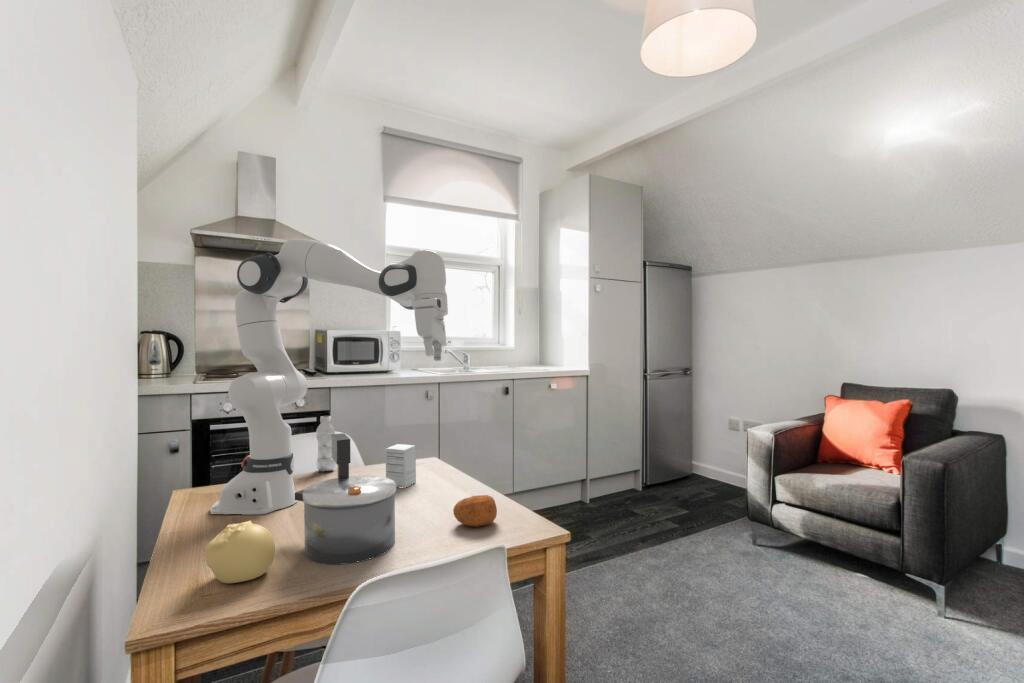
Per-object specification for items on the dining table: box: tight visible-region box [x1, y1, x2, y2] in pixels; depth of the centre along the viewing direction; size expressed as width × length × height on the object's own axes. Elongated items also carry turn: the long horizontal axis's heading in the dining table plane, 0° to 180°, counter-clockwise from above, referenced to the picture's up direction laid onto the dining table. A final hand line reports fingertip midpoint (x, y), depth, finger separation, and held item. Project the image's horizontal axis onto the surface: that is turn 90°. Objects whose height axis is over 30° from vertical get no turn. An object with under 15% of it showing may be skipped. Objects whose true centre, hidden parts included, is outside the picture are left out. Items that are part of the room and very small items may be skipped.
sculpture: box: [204, 520, 276, 584], centre depth 101 cm, size 12×12×11 cm
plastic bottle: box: [315, 415, 337, 472], centre depth 182 cm, size 6×7×20 cm
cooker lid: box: [302, 432, 397, 508], centre depth 119 cm, size 28×21×11 cm
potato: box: [453, 494, 498, 528], centre depth 128 cm, size 9×11×8 cm
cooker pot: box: [295, 488, 396, 565], centre depth 117 cm, size 27×20×12 cm
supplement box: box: [385, 443, 417, 489], centre depth 164 cm, size 7×7×13 cm
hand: (433, 358), depth 132 cm, fingers open, 8 cm apart
